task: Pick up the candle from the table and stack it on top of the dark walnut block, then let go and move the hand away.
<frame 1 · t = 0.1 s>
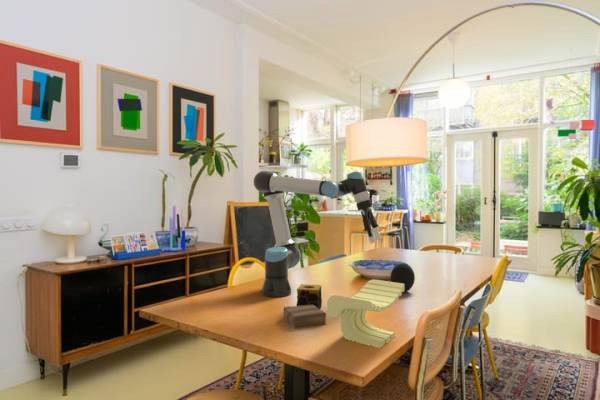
hand: (376, 241, 199), 28 cm above the table, tool tilted 20°, fingers open, 13 cm apart
candle: (309, 309, 179), on the table
decorative egg: (402, 292, 210), on the table
walnut block: (304, 322, 162), on the table
slatted curved stool: (367, 337, 144), on the table
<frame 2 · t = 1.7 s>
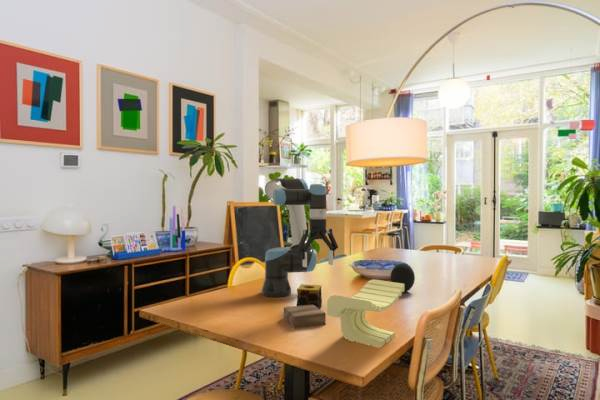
hand: (317, 265, 179), 19 cm above the table, tool pointing down, fingers open, 13 cm apart
nothing on the table moved.
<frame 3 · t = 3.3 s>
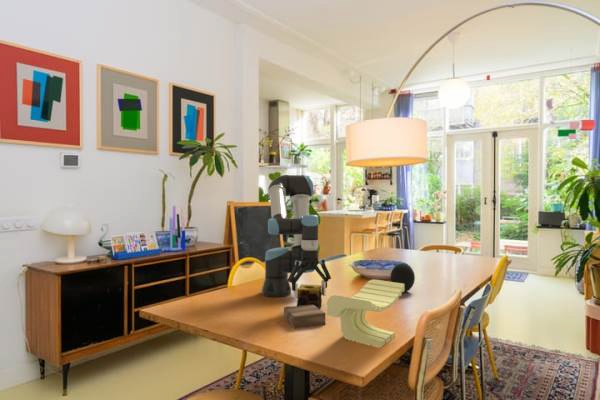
hand: (309, 296, 178), 6 cm above the table, tool pointing down, fingers open, 13 cm apart
candle: (309, 309, 179), on the table, touching gripper
everything else where it was.
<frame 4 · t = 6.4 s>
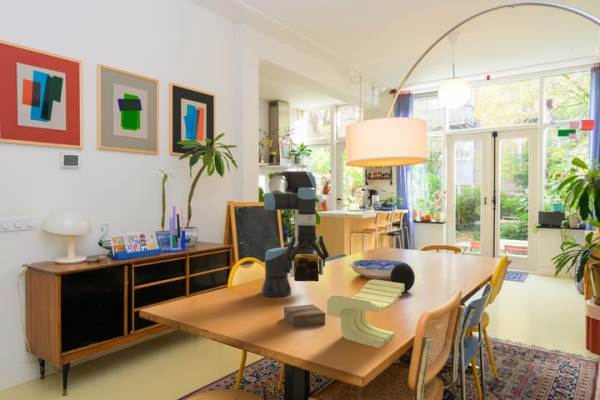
hand: (306, 275, 167), 17 cm above the table, tool pointing down, fingers closed on candle, 12 cm apart
candle: (306, 279, 167), point 16 cm above the table, touching gripper
everything else where it was.
when the fingers open (7 cm above the table, at t = 9.1 s): candle drops 1 cm, resting on walnut block.
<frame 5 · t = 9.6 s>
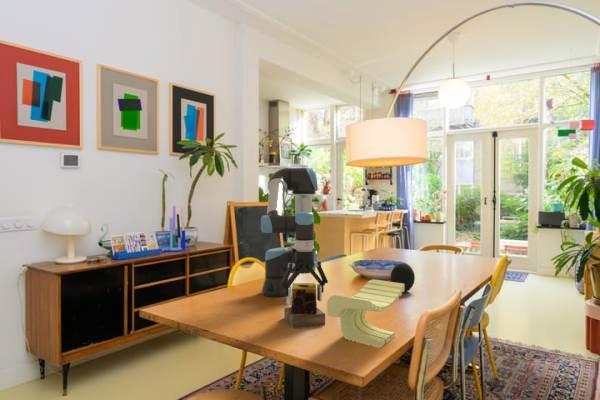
hand: (304, 302, 161), 8 cm above the table, tool pointing down, fingers open, 13 cm apart
candle: (304, 310, 162), point 4 cm above the table, touching walnut block
walnut block: (304, 322, 162), on the table, touching candle
everything else where it was.
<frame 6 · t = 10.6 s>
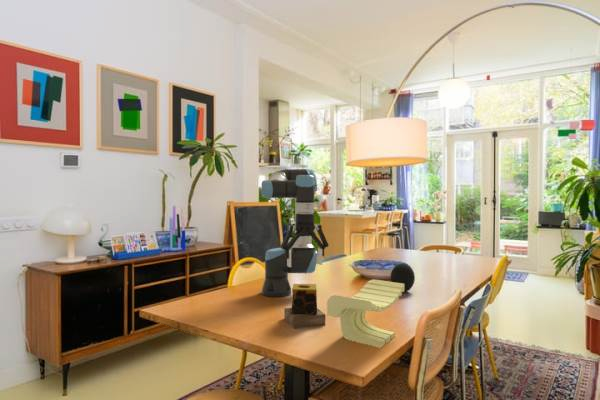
hand: (304, 265, 162), 23 cm above the table, tool pointing down, fingers open, 13 cm apart
nothing on the table moved.
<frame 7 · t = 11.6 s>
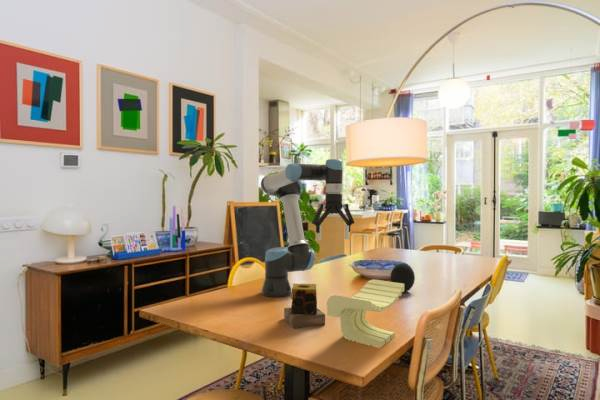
hand: (333, 239, 182), 31 cm above the table, tool pointing down, fingers open, 13 cm apart
nothing on the table moved.
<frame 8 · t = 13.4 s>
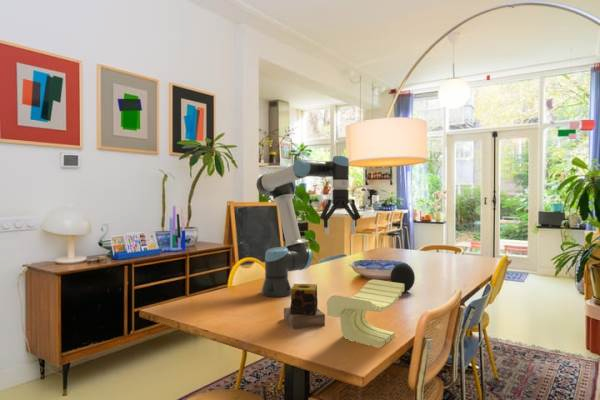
hand: (340, 234, 187), 33 cm above the table, tool pointing down, fingers open, 13 cm apart
candle: (304, 311, 160), point 4 cm above the table
walnut block: (303, 323, 161), on the table
everything else where it was.
at the end: candle inside the target area on the walnut block (0.2 cm from its centre), point 4.8 cm above the walnut block's base; candle tilted 0°; the gripper is holding nothing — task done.
